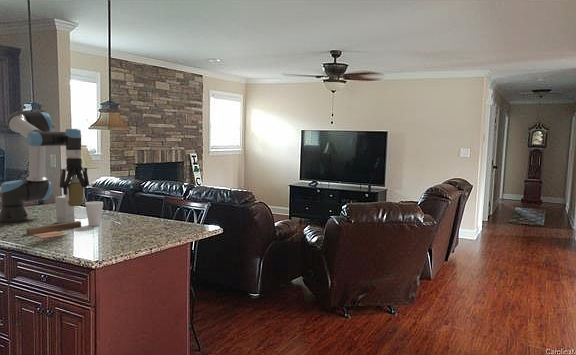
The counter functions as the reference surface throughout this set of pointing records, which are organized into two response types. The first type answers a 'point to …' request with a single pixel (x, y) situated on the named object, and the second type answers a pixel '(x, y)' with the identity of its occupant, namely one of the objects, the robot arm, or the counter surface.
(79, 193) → the squeeze bottle
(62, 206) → the skincare box
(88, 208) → the foam cup
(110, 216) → the counter surface
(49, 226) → the rail
